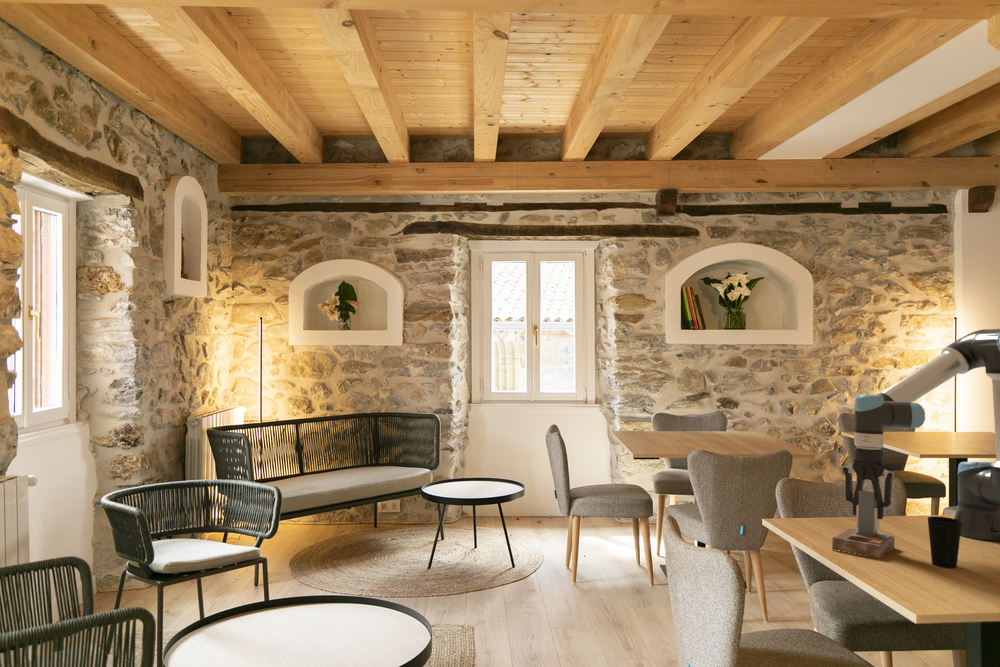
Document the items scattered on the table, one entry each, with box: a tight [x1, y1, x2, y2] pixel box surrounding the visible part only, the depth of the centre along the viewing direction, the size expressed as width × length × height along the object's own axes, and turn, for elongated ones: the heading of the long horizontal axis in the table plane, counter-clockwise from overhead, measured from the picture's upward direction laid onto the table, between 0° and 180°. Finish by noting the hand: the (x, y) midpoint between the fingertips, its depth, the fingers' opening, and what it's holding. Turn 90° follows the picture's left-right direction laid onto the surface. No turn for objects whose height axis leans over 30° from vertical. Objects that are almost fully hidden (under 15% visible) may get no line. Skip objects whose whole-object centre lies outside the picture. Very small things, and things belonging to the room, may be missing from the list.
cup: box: [927, 516, 962, 569], centre depth 187 cm, size 8×8×12 cm
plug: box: [857, 488, 878, 538], centre depth 204 cm, size 4×4×14 cm
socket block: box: [831, 527, 895, 559], centre depth 201 cm, size 12×16×4 cm
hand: (867, 528), depth 204 cm, fingers closed on plug, 4 cm apart
